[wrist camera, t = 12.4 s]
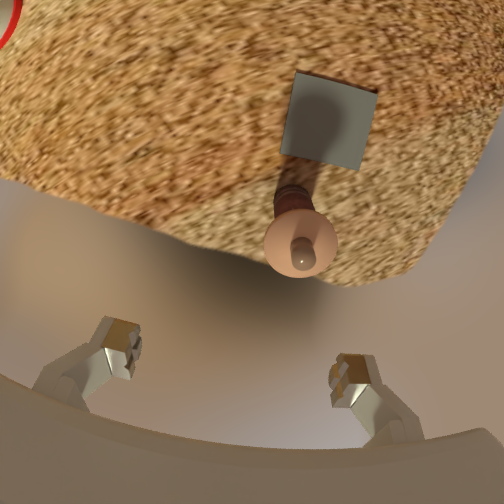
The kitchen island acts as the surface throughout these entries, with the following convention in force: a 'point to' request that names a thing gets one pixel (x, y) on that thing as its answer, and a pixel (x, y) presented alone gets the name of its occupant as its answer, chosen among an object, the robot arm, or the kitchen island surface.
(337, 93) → the mat
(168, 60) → the kitchen island surface
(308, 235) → the lid
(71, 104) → the kitchen island surface
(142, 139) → the kitchen island surface
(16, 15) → the container
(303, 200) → the can
